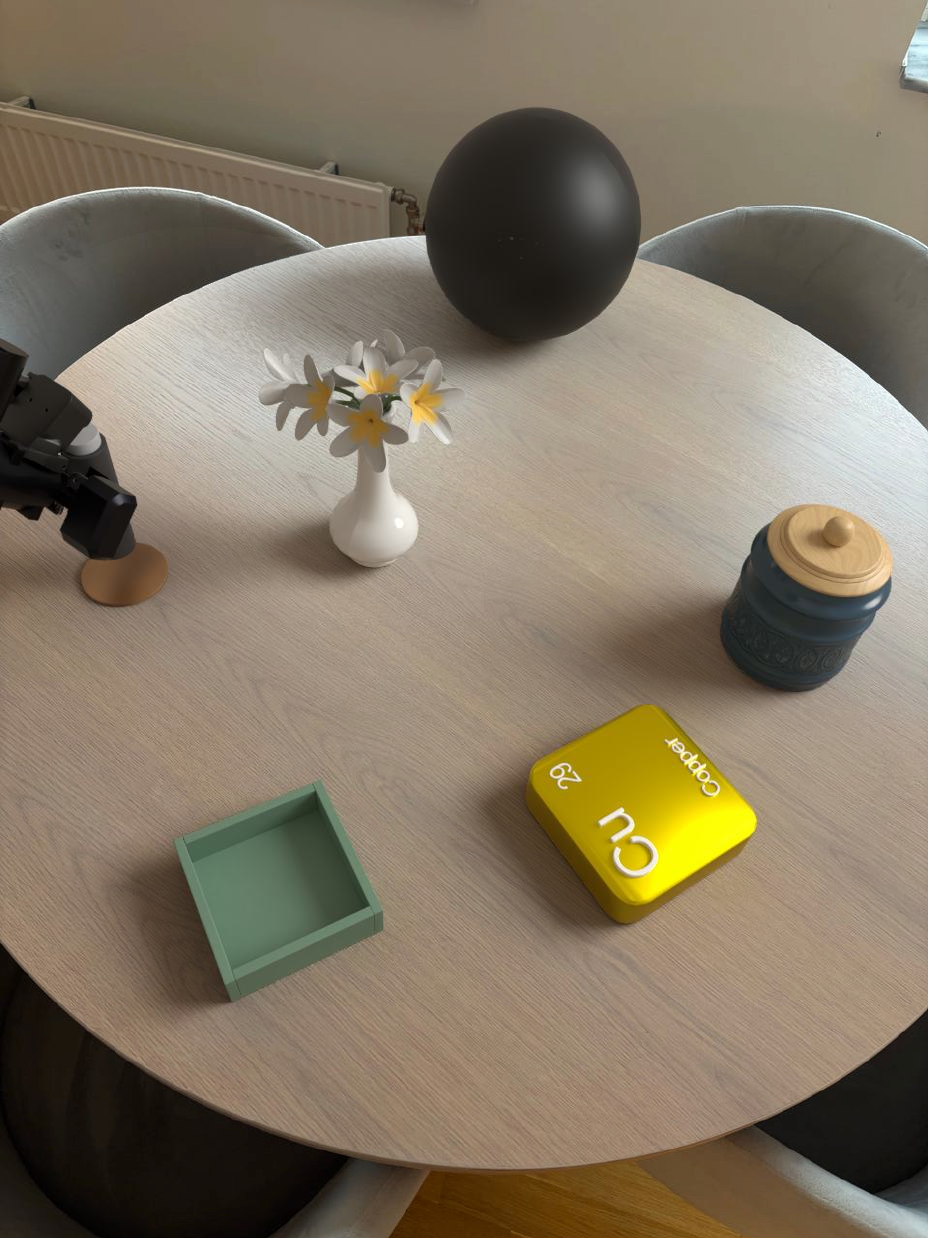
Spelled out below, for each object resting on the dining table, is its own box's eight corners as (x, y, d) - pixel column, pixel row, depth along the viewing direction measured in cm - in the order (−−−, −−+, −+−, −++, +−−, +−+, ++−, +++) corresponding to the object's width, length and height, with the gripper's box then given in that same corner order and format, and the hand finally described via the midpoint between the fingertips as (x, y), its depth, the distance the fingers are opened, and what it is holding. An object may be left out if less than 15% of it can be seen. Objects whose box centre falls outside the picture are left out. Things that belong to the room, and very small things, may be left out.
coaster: (93, 617, 94) (92, 615, 93) (72, 559, 98) (71, 556, 98) (178, 590, 96) (178, 587, 96) (154, 535, 101) (153, 532, 101)
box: (231, 1002, 72) (224, 985, 68) (181, 861, 78) (172, 839, 75) (383, 930, 76) (383, 910, 73) (323, 802, 83) (320, 779, 79)
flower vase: (289, 502, 105) (266, 303, 86) (455, 511, 106) (470, 315, 86) (273, 591, 97) (243, 394, 78) (452, 600, 98) (468, 407, 78)
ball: (414, 268, 136) (419, 65, 115) (597, 267, 139) (634, 70, 118) (430, 386, 120) (439, 174, 99) (637, 382, 123) (689, 177, 102)
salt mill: (129, 562, 92) (94, 450, 81) (88, 558, 92) (48, 445, 81) (141, 532, 95) (109, 420, 84) (101, 528, 95) (64, 416, 84)
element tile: (753, 846, 83) (770, 821, 79) (619, 935, 77) (631, 912, 73) (643, 720, 90) (655, 691, 86) (514, 793, 84) (520, 765, 81)
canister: (836, 712, 92) (915, 595, 78) (705, 669, 94) (759, 548, 80) (849, 616, 100) (923, 494, 86) (728, 579, 102) (782, 454, 88)
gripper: (91, 424, 71) (219, 461, 85) (-64, 326, 77) (80, 376, 92) (33, 556, 73) (168, 569, 87) (-113, 449, 79) (35, 479, 93)
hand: (112, 494), depth 90 cm, fingers closed on salt mill, 4 cm apart
